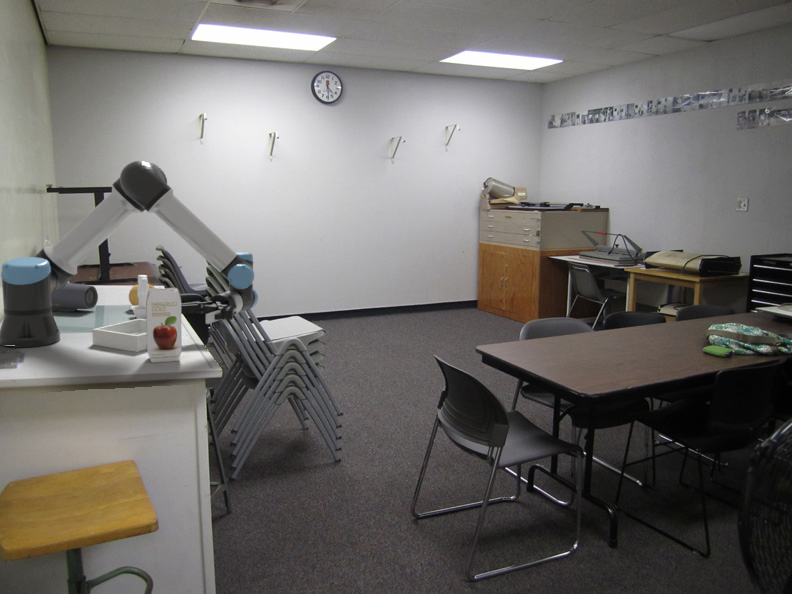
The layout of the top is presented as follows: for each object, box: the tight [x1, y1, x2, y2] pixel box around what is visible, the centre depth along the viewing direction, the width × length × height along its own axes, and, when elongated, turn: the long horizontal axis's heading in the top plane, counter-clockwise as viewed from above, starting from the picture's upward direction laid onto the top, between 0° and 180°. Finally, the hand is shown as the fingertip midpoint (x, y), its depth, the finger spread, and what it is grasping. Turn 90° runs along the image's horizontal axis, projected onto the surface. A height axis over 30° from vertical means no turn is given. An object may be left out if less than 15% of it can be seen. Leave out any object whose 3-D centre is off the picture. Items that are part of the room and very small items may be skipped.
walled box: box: [91, 318, 147, 353], centre depth 177 cm, size 18×16×4 cm
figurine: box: [130, 274, 149, 319], centre depth 209 cm, size 7×9×15 cm
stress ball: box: [128, 283, 156, 306], centre depth 223 cm, size 10×10×10 cm
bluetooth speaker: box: [51, 282, 99, 312], centre depth 215 cm, size 23×9×10 cm, turn 84°
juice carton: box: [146, 287, 183, 363], centre depth 159 cm, size 8×9×19 cm
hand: (185, 316), depth 168 cm, fingers open, 13 cm apart
